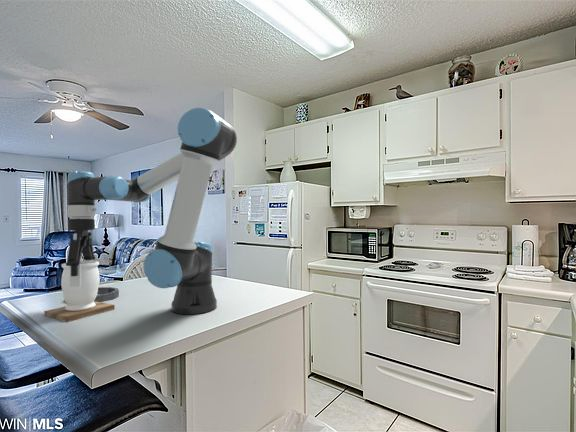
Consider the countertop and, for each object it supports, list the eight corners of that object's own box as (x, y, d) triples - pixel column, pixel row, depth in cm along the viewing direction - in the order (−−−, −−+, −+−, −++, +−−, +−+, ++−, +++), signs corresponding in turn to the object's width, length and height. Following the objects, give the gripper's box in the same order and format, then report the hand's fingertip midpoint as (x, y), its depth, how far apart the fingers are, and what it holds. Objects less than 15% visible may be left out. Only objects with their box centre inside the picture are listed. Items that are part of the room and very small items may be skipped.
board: (114, 309, 110) (114, 304, 110) (67, 321, 96) (68, 316, 96) (91, 304, 116) (91, 300, 116) (44, 315, 102) (44, 311, 102)
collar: (127, 295, 129) (127, 289, 129) (86, 305, 114) (86, 298, 114) (101, 291, 136) (101, 285, 136) (59, 300, 122) (59, 293, 122)
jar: (64, 314, 99) (64, 265, 99) (58, 307, 106) (58, 262, 106) (102, 307, 106) (103, 262, 106) (94, 302, 113) (95, 259, 114)
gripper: (83, 217, 96) (83, 288, 95) (103, 218, 119) (103, 275, 119) (53, 218, 93) (54, 291, 93) (79, 218, 117) (80, 277, 117)
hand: (81, 282), depth 106 cm, fingers open, 13 cm apart
